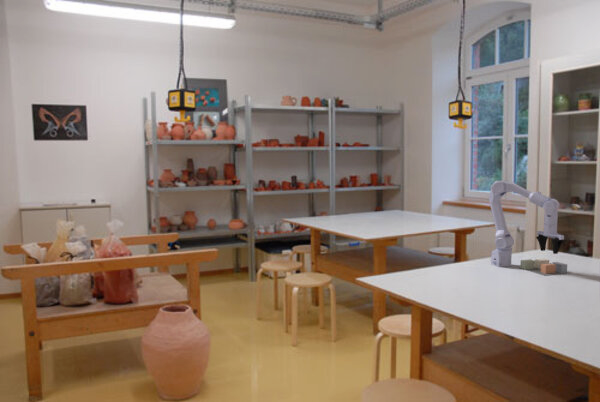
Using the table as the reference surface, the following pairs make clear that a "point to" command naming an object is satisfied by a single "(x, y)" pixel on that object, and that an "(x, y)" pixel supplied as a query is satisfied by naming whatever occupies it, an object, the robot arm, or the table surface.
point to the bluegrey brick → (560, 267)
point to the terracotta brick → (548, 268)
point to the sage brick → (527, 264)
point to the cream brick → (540, 262)
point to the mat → (544, 273)
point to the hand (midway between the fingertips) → (549, 252)
